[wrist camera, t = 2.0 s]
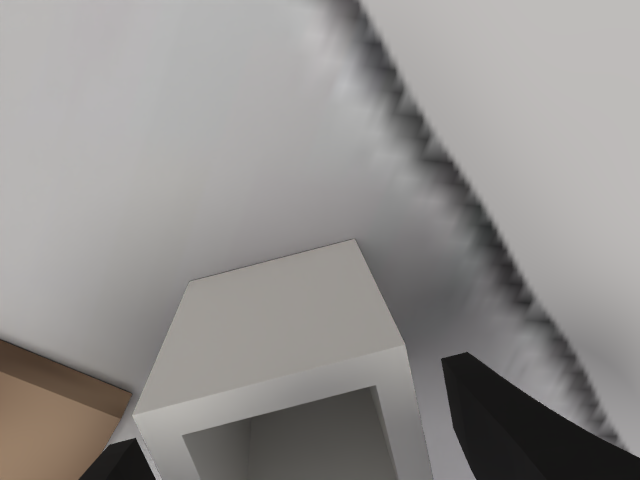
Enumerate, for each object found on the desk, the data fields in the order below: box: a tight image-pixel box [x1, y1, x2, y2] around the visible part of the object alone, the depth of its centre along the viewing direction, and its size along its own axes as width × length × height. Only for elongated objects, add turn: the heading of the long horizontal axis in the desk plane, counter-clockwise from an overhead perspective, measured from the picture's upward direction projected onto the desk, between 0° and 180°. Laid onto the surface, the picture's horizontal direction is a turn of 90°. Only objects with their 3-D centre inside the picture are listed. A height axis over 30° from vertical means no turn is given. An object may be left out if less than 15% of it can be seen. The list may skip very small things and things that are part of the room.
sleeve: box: [132, 239, 433, 480], centre depth 12 cm, size 5×5×6 cm
